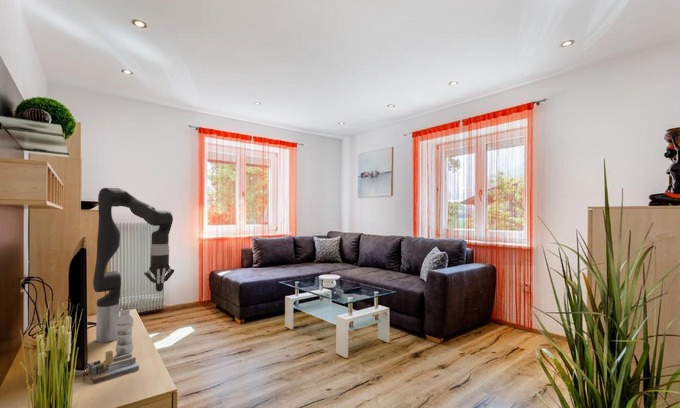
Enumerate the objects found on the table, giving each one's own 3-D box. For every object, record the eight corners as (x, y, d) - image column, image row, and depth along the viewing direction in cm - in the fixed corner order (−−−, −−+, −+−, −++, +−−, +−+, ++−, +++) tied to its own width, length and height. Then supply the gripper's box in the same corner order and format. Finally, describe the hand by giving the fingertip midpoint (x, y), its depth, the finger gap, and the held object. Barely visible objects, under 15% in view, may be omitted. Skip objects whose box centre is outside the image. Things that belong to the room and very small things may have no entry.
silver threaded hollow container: (124, 358, 146) (125, 311, 146) (111, 356, 147) (112, 310, 148) (136, 352, 152) (137, 307, 153) (124, 350, 154) (124, 306, 154)
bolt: (94, 369, 132) (94, 354, 132) (112, 364, 136) (112, 349, 136) (96, 372, 130) (96, 356, 130) (114, 367, 134) (114, 351, 134)
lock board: (84, 371, 134) (84, 360, 134) (127, 358, 145) (127, 348, 145) (93, 383, 125) (94, 371, 125) (138, 369, 136) (139, 358, 136)
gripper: (171, 251, 163) (170, 287, 162) (141, 254, 153) (140, 292, 152) (178, 253, 158) (177, 290, 157) (147, 255, 148) (146, 295, 147)
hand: (159, 291), depth 155 cm, fingers closed
